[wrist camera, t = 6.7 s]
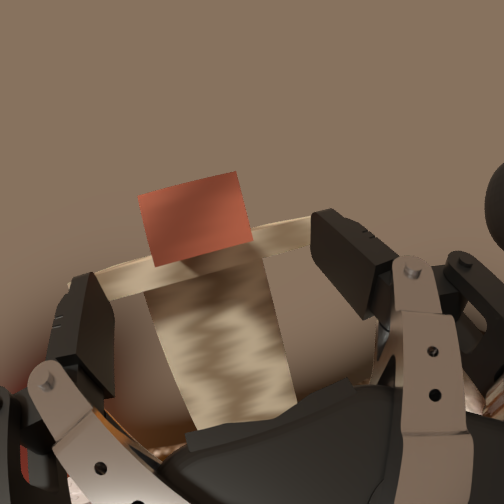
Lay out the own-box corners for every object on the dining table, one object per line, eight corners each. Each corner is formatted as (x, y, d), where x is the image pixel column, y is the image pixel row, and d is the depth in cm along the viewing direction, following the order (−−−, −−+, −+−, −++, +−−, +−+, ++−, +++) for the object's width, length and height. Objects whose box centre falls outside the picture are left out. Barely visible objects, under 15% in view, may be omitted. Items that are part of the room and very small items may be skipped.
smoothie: (150, 530, 20) (90, 465, 19) (114, 549, 15) (45, 486, 14) (128, 505, 24) (75, 440, 23) (95, 522, 20) (36, 457, 18)
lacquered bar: (205, 240, 35) (200, 220, 35) (253, 240, 10) (235, 171, 10) (178, 247, 35) (173, 227, 34) (154, 267, 9) (137, 195, 9)
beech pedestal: (313, 419, 40) (268, 223, 37) (361, 479, 24) (325, 213, 21) (195, 456, 36) (116, 264, 33) (206, 531, 20) (67, 283, 17)
